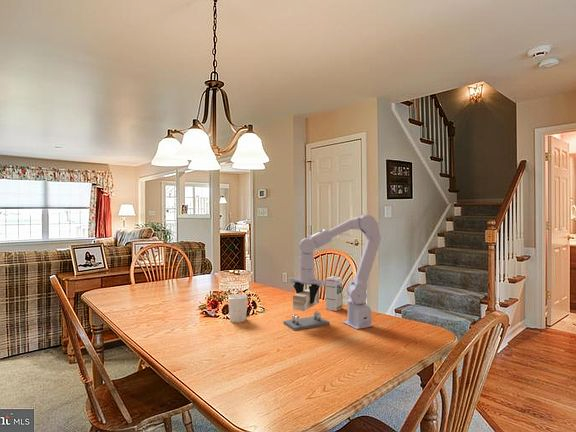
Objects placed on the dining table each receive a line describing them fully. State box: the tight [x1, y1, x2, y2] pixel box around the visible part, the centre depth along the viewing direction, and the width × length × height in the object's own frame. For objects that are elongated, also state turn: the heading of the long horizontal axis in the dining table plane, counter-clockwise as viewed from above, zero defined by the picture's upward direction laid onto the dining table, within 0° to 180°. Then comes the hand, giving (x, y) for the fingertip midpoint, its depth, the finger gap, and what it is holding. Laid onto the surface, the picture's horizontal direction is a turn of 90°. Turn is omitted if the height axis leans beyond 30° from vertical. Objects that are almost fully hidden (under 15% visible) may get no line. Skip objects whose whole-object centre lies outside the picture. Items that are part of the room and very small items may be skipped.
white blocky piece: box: [292, 288, 320, 312], centre depth 146 cm, size 14×4×6 cm, turn 150°
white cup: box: [227, 293, 248, 323], centre depth 151 cm, size 8×8×10 cm
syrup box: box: [325, 275, 343, 312], centre depth 168 cm, size 6×6×14 cm
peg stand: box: [283, 310, 330, 331], centre depth 146 cm, size 16×9×4 cm, turn 117°
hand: (306, 302), depth 146 cm, fingers closed on white blocky piece, 4 cm apart
